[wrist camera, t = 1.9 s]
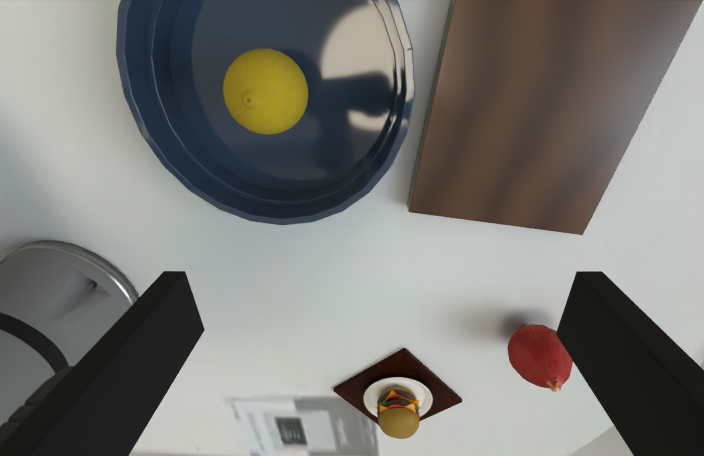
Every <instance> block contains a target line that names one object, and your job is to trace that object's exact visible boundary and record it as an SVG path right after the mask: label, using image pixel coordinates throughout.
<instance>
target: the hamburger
mask: <svg viewBox="0 0 704 456" xmlns="http://www.w3.org/2000/svg"><path fill="white" fill-rule="evenodd" d="M333 391H334V392H335V393H337V394H338V395H339V396H341V397H342V398H343V399H345V400H346V401H347V402H349V403H350V404H351V405H353V406H354V407H355V408H357V409H358V410H359V411H361V412H362V413H363V414H365V415H366V416H367V417H369V418H370V419H371V420H373V421H374V422H375V423H377V424H378V425H379V426H380V427H381V430H382V431H383V432H384V433H385V434H387V435H388V436H390V437H394V438H398V439H405V438H408V437H410V436H412V435H413V434H414V433H415V432H416V431H417V429H418V427H419V421H421V420H423V419H426V418H428V417H430V416H432V415H434V414H437V413H439V412H441V411H443V410H445V409H448V408H450V407H452V406H454V405H456V404H459V403H461V402H462V399H461V398H460V397H459V396H458V395H457V394H456V393H455V392H454V391H453V390H451V389H450V388H449V387H448V386H447V385H446V384H445V383H444V382H442V381H441V380H440V379H439V378H438V377H437V376H436V375H435V374H434V373H432V372H431V371H430V370H429V369H428V368H427V367H426V366H425V365H423V364H422V363H421V362H420V361H419V360H418V359H417V358H416V357H415V356H413V355H412V354H411V353H410V352H409V351H408V350H407V349H406V348H404V349H402V350H400V351H398V352H397V353H395V354H393V355H391V356H390V357H388V358H386V359H384V360H382V361H381V362H379V363H377V364H375V365H374V366H372V367H370V368H368V369H366V370H365V371H363V372H361V373H359V374H358V375H356V376H354V377H352V378H350V379H349V380H347V381H345V382H343V383H342V384H340V385H338V386H336V387H334V390H333Z"/></svg>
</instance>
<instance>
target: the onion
mask: <svg viewBox="0 0 704 456" xmlns="http://www.w3.org/2000/svg"><path fill="white" fill-rule="evenodd" d="M556 333H557V332H556V331H555V330H552V329H550V328H548V327H546V326H543V325H523V326H522V327H520V328H519V329H518V330H517V331H516V332H515V333H514V334H513V335H512V337H511V339H510V341H509V344H508V355H509V361H510V363H511V364H512V366H513V368H514V369H515V370H516V371H517V372H518V373H519V374H520V375H521V376H522V378H524V379H525V380H526V381H528V382H530V383H532V384H535V385H537V386H540V387H544V388H550V389H551V390H552V391H553V392H557V391H560V388H561V386H562V385H563V384H564V383H565V382H566V381H567V380H568V378H569V376H570V372H571V368H572V363H573V360H572V359H571V357H570V355H569V354H568V352H567V351H566V349H565V348H564V346H563V345H562V343H561V341H560V340H559V338H558V337H557V335H556Z"/></svg>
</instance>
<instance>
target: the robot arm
mask: <svg viewBox="0 0 704 456" xmlns="http://www.w3.org/2000/svg"><path fill="white" fill-rule="evenodd" d="M203 331H204V327H203V324H202V321H201V318H200V315H199V312H198V309H197V306H196V303H195V300H194V297H193V294H192V291H191V288H190V285H189V282H188V279H187V276H186V273H185V271H164V272H163V273H162V274H161V275H160V276H159V277H158V278H157V279H156V280H155V282H154V283H153V284H152V285H151V286H150V287H149V288H148V289H147V290H146V291H145V292H144V293H143V294H142V295H141V296H140V297H139V298H138V296H137V294H136V292H135V290H134V289H133V287H132V286H131V284H130V283H129V282H128V280H127V279H126V278H125V277H124V276H123V275H122V274H121V273H120V272H119V271H118V270H117V269H116V268H114V267H113V266H112V265H111V264H109V263H108V262H107V261H105V260H103V259H102V258H100V257H99V256H97V255H95V254H93V253H91V252H89V251H87V250H85V249H82V248H80V247H77V246H74V245H70V244H66V243H61V242H54V241H41V242H34V243H30V244H27V245H25V246H23V247H21V248H19V249H18V250H16V251H14V252H12V253H11V254H9V255H8V256H6V257H5V258H4V259H2V260H1V261H0V456H128V455H129V454H130V452H131V451H132V449H133V447H134V446H135V444H136V442H137V441H138V439H139V437H140V436H141V434H142V432H143V431H144V429H145V427H146V426H147V424H148V422H149V421H150V419H151V417H152V416H153V414H154V412H155V411H156V409H157V408H158V406H159V404H160V403H161V401H162V399H163V398H164V396H165V394H166V393H167V391H168V389H169V388H170V386H171V384H172V383H173V381H174V379H175V378H176V376H177V374H178V373H179V371H180V370H181V368H182V366H183V365H184V363H185V361H186V360H187V358H188V356H189V355H190V353H191V351H192V350H193V348H194V346H195V345H196V343H197V341H198V340H199V338H200V336H201V335H202V333H203ZM556 335H557V337H558V338H559V340H560V341H561V343H562V345H563V346H564V348H565V349H566V351H567V352H568V354H569V355H570V357H571V359H572V360H573V362H574V363H575V365H576V366H577V368H578V369H579V371H580V373H581V374H582V376H583V377H584V379H585V380H586V382H587V383H588V385H589V387H590V388H591V390H592V391H593V393H594V394H595V396H596V397H597V399H598V401H599V402H600V404H601V405H602V407H603V408H604V410H605V411H606V413H607V415H608V416H609V418H610V419H611V421H612V422H613V424H614V425H615V427H616V429H617V430H618V432H619V433H620V435H621V436H622V438H623V440H624V441H625V443H626V444H627V446H628V447H629V449H630V450H631V452H632V453H633V455H634V456H704V370H703V369H702V368H701V367H700V366H699V365H698V364H697V363H696V362H695V361H694V360H693V359H692V358H690V357H689V356H688V355H687V354H686V353H685V352H684V351H683V350H682V349H681V348H680V347H679V346H678V345H677V344H676V343H675V342H674V341H673V340H672V339H671V338H670V337H669V336H668V335H667V334H666V333H665V332H664V331H663V330H662V329H661V328H660V327H659V326H657V325H656V324H655V323H654V322H653V321H652V320H651V319H650V318H649V317H648V316H647V315H646V314H645V313H644V312H643V311H642V310H641V309H640V308H639V307H638V306H637V305H636V304H635V303H634V302H633V301H632V300H631V299H630V298H629V297H628V296H627V295H625V294H624V293H623V292H622V291H621V290H620V289H619V288H618V287H617V286H616V285H615V284H614V283H613V282H612V281H611V280H610V279H609V278H608V277H607V276H606V275H605V274H604V273H603V272H577V273H576V276H575V279H574V282H573V285H572V288H571V291H570V294H569V297H568V300H567V303H566V306H565V309H564V312H563V315H562V318H561V321H560V324H559V327H558V330H557V333H556Z"/></svg>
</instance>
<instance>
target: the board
mask: <svg viewBox="0 0 704 456" xmlns="http://www.w3.org/2000/svg"><path fill="white" fill-rule="evenodd" d="M702 1H703V0H451V3H450V8H449V13H448V17H447V22H446V27H445V31H444V36H443V41H442V45H441V50H440V55H439V59H438V64H437V69H436V73H435V78H434V83H433V87H432V92H431V97H430V101H429V106H428V111H427V115H426V120H425V125H424V129H423V134H422V139H421V143H420V148H419V153H418V157H417V162H416V167H415V171H414V176H413V181H412V185H411V190H410V195H409V199H408V204H407V206H408V211H409V212H412V213H420V214H428V215H435V216H443V217H450V218H458V219H466V220H473V221H481V222H488V223H496V224H503V225H511V226H519V227H526V228H534V229H541V230H549V231H557V232H564V233H572V234H579V235H583V233H584V231H585V229H586V227H587V225H588V223H589V221H590V220H591V218H592V216H593V214H594V212H595V210H596V208H597V206H598V204H599V202H600V200H601V198H602V196H603V194H604V192H605V190H606V188H607V186H608V184H609V182H610V181H611V179H612V177H613V175H614V173H615V171H616V169H617V167H618V165H619V163H620V161H621V159H622V157H623V155H624V153H625V151H626V149H627V147H628V145H629V143H630V141H631V140H632V138H633V136H634V134H635V132H636V130H637V128H638V126H639V124H640V122H641V120H642V118H643V116H644V114H645V112H646V110H647V108H648V106H649V104H650V102H651V101H652V99H653V97H654V95H655V93H656V91H657V89H658V87H659V85H660V83H661V81H662V79H663V77H664V75H665V73H666V71H667V69H668V67H669V65H670V63H671V62H672V60H673V58H674V56H675V54H676V52H677V50H678V48H679V46H680V44H681V42H682V40H683V38H684V36H685V34H686V32H687V30H688V28H689V26H690V24H691V22H692V21H693V19H694V17H695V15H696V13H697V11H698V9H699V7H700V5H701V3H702Z"/></svg>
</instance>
